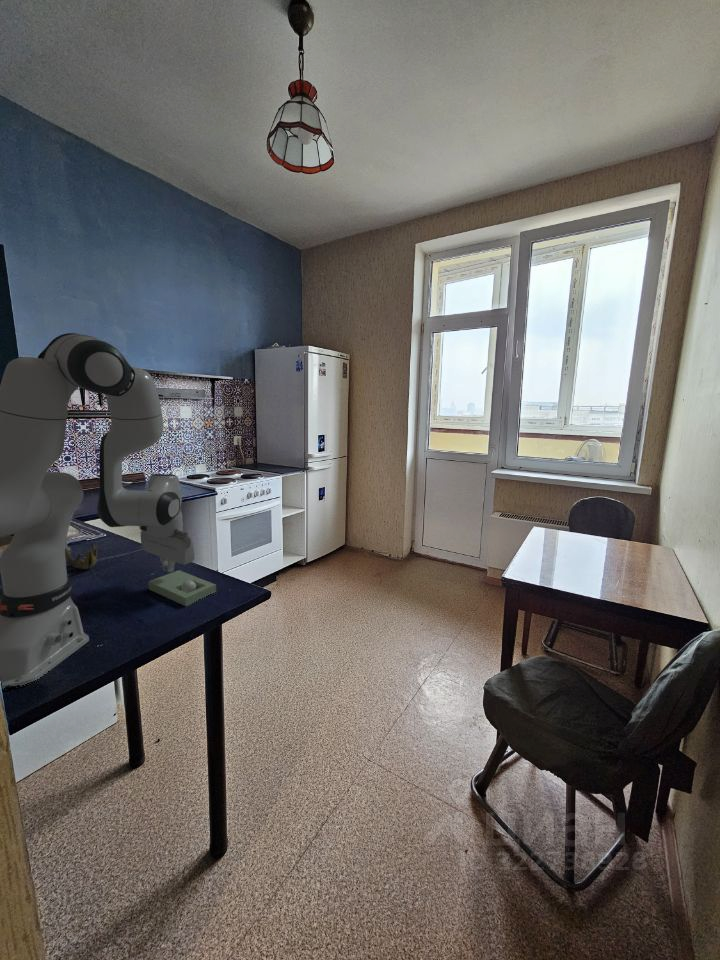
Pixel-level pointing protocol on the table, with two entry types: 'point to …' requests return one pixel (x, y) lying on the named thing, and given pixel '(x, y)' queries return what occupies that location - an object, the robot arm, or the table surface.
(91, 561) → the jawbone
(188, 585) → the ball
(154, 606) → the table surface
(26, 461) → the robot arm
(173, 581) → the putting board
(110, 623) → the table surface
